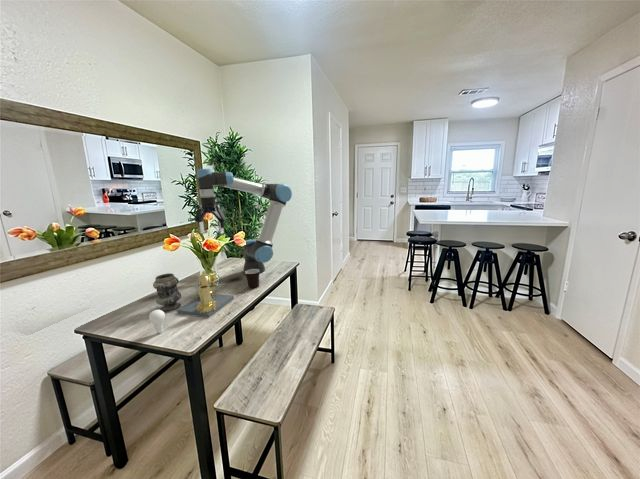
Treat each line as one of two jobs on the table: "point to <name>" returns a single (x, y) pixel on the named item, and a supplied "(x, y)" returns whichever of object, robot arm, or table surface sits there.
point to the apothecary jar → (167, 292)
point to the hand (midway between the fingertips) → (212, 233)
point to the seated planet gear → (205, 281)
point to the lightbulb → (157, 320)
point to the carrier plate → (192, 306)
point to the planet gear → (205, 300)
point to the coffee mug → (252, 278)
